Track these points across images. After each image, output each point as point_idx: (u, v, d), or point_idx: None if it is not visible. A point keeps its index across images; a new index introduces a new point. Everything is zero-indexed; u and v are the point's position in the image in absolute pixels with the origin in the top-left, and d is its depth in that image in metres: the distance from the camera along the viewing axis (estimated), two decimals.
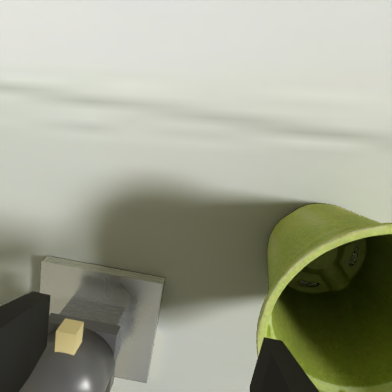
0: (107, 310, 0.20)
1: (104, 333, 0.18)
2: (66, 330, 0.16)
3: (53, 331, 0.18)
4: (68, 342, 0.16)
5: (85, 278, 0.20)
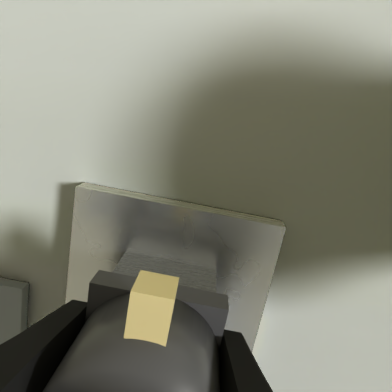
0: (190, 272, 0.12)
1: (205, 306, 0.09)
2: (151, 291, 0.07)
3: (106, 302, 0.09)
4: (156, 317, 0.07)
5: (150, 217, 0.12)
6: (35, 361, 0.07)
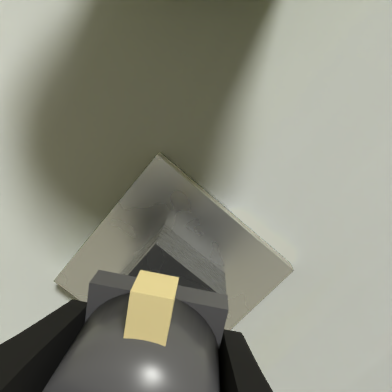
0: (147, 245, 0.14)
1: (205, 306, 0.09)
2: (151, 291, 0.07)
3: (106, 302, 0.09)
4: (156, 317, 0.07)
5: (100, 246, 0.14)
6: (35, 361, 0.07)
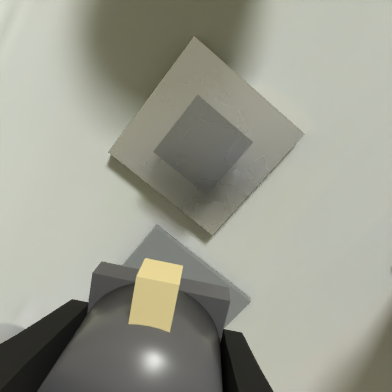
0: None
1: (207, 297, 0.09)
2: (156, 277, 0.07)
3: (109, 292, 0.09)
4: (161, 302, 0.07)
5: (146, 119, 0.18)
6: (34, 361, 0.07)
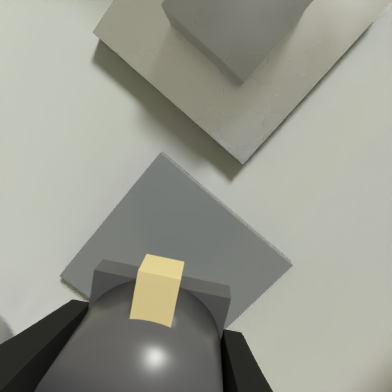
0: None
1: (207, 294, 0.09)
2: (158, 271, 0.07)
3: (110, 289, 0.09)
4: (162, 297, 0.07)
5: None
6: (35, 361, 0.07)
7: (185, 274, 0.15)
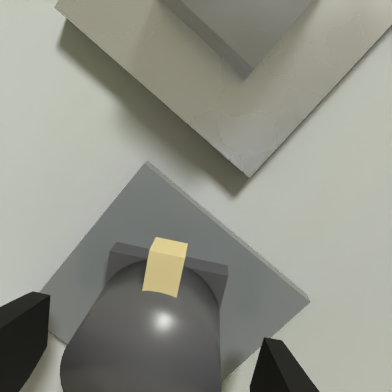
0: None
1: (208, 272, 0.11)
2: (165, 251, 0.09)
3: (124, 267, 0.11)
4: (169, 272, 0.09)
5: None
6: None
7: None
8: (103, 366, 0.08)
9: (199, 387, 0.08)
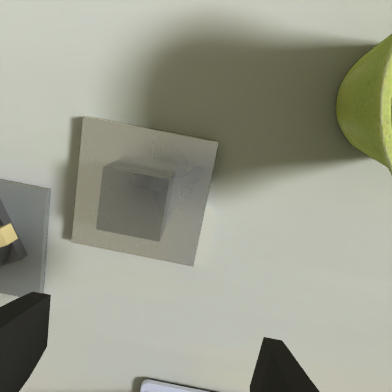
0: (156, 171, 0.18)
1: (15, 250, 0.20)
2: (4, 235, 0.18)
3: None
4: None
5: (131, 137, 0.18)
6: None
7: None
8: None
9: None
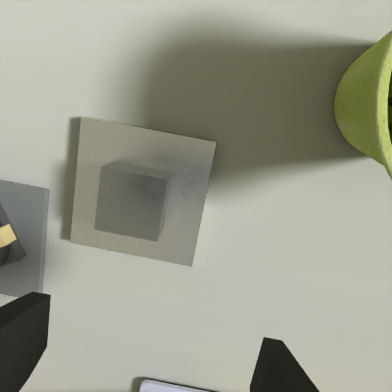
0: (154, 171, 0.18)
1: (14, 251, 0.20)
2: (3, 235, 0.18)
3: None
4: None
5: (129, 137, 0.18)
6: None
7: None
8: None
9: None
